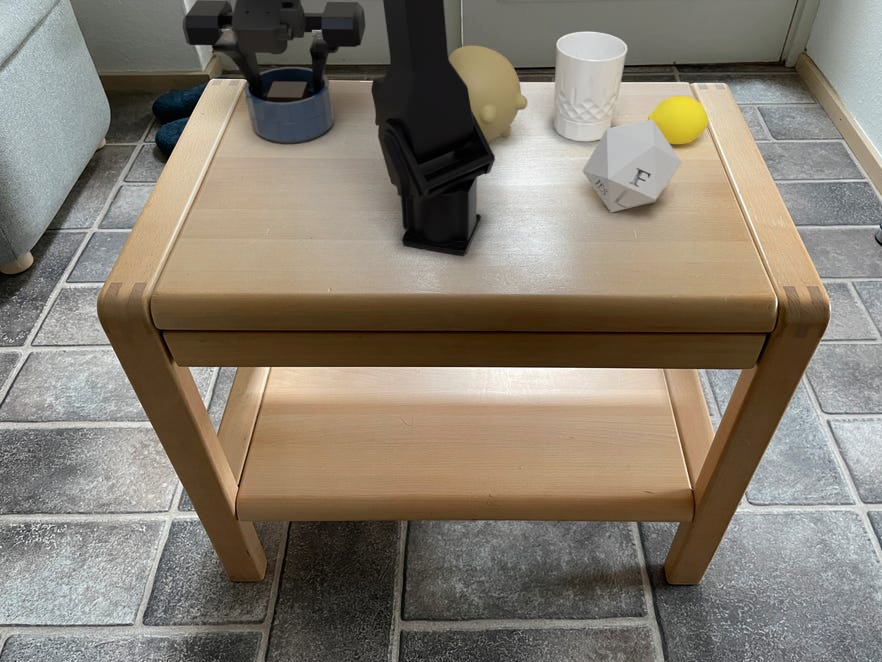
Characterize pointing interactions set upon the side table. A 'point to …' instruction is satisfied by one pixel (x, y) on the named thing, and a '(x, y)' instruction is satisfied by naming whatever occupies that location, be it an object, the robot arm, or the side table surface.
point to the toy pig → (490, 88)
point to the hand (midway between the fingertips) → (289, 98)
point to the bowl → (290, 108)
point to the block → (288, 92)
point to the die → (631, 165)
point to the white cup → (587, 83)
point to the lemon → (680, 119)
